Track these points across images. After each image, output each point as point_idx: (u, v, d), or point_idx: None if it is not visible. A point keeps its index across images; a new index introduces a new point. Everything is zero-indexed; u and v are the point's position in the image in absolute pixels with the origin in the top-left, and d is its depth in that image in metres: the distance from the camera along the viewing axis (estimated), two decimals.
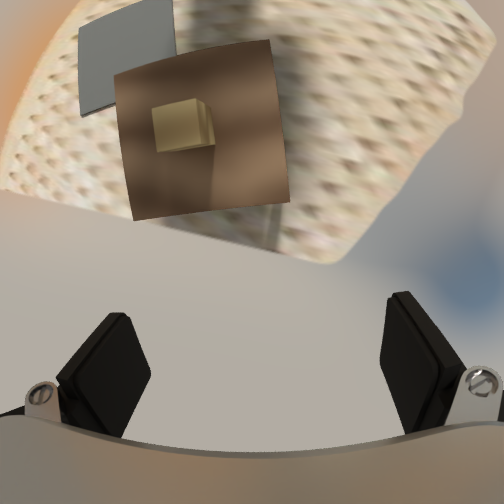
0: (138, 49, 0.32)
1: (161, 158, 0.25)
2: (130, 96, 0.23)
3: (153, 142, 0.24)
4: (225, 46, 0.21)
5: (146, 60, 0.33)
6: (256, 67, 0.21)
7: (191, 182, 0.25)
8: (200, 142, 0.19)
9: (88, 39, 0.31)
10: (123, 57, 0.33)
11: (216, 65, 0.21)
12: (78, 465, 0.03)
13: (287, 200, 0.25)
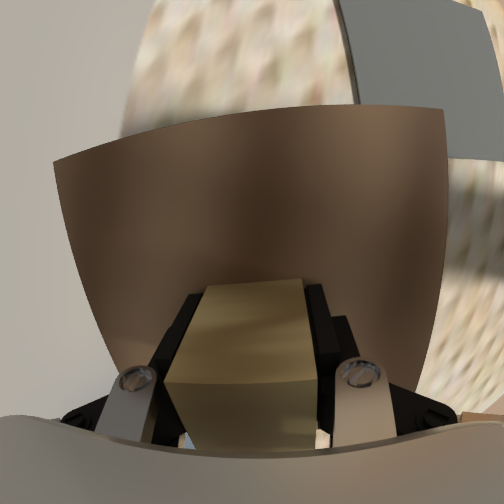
0: (436, 95, 0.18)
1: (188, 241, 0.10)
2: (378, 154, 0.09)
3: (231, 221, 0.10)
4: (421, 365, 0.11)
5: (416, 105, 0.19)
6: None
7: (141, 306, 0.11)
8: None
9: (464, 20, 0.15)
10: (426, 66, 0.18)
11: (391, 357, 0.11)
12: (78, 465, 0.03)
13: None
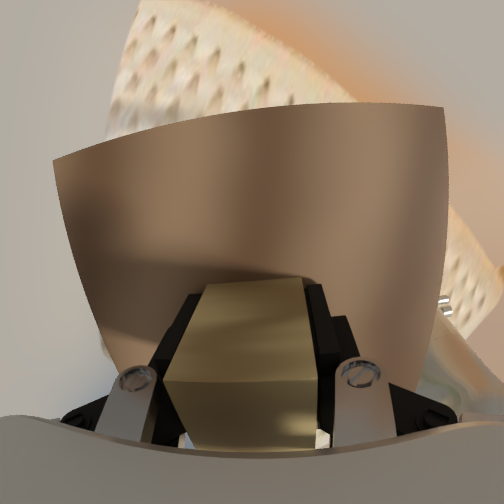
0: None
1: (187, 240, 0.10)
2: (378, 152, 0.09)
3: (230, 219, 0.10)
4: (421, 365, 0.11)
5: None
6: None
7: (140, 305, 0.11)
8: None
9: None
10: None
11: (391, 356, 0.11)
12: (78, 465, 0.03)
13: None
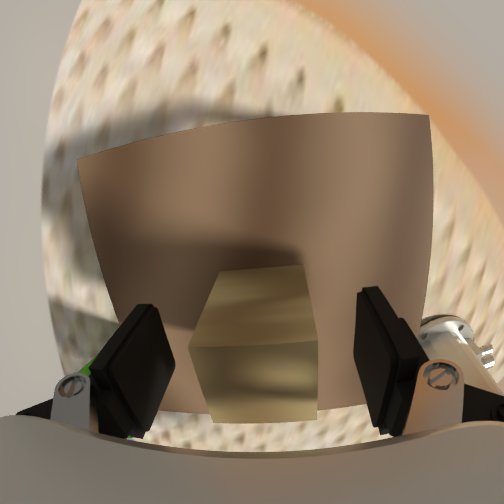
0: None
1: (203, 232, 0.12)
2: (369, 156, 0.10)
3: (241, 214, 0.11)
4: None
5: None
6: None
7: (157, 292, 0.13)
8: (216, 421, 0.08)
9: None
10: None
11: None
12: (78, 465, 0.03)
13: (159, 408, 0.16)
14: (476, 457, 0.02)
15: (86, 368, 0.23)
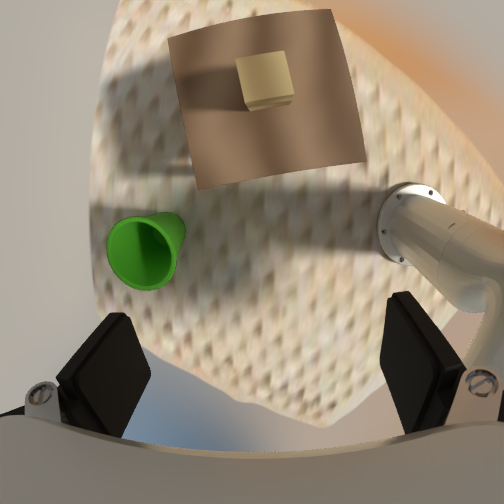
0: None
1: (233, 59, 0.21)
2: (304, 25, 0.19)
3: (251, 50, 0.21)
4: (358, 118, 0.22)
5: None
6: (334, 148, 0.23)
7: (209, 91, 0.22)
8: (246, 101, 0.18)
9: None
10: None
11: (336, 109, 0.22)
12: (78, 465, 0.03)
13: (199, 187, 0.25)
14: (476, 457, 0.02)
15: None
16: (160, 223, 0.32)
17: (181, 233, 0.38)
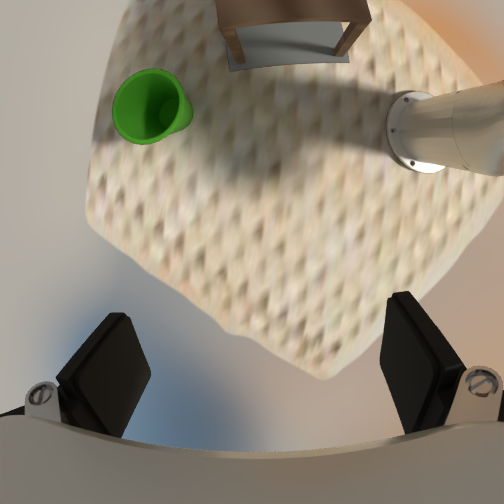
0: (277, 31, 0.32)
1: None
2: None
3: None
4: None
5: (262, 39, 0.33)
6: (343, 7, 0.19)
7: None
8: None
9: None
10: None
11: None
12: (78, 465, 0.03)
13: (220, 25, 0.21)
14: (476, 457, 0.02)
15: None
16: None
17: (189, 107, 0.34)
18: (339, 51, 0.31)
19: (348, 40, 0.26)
